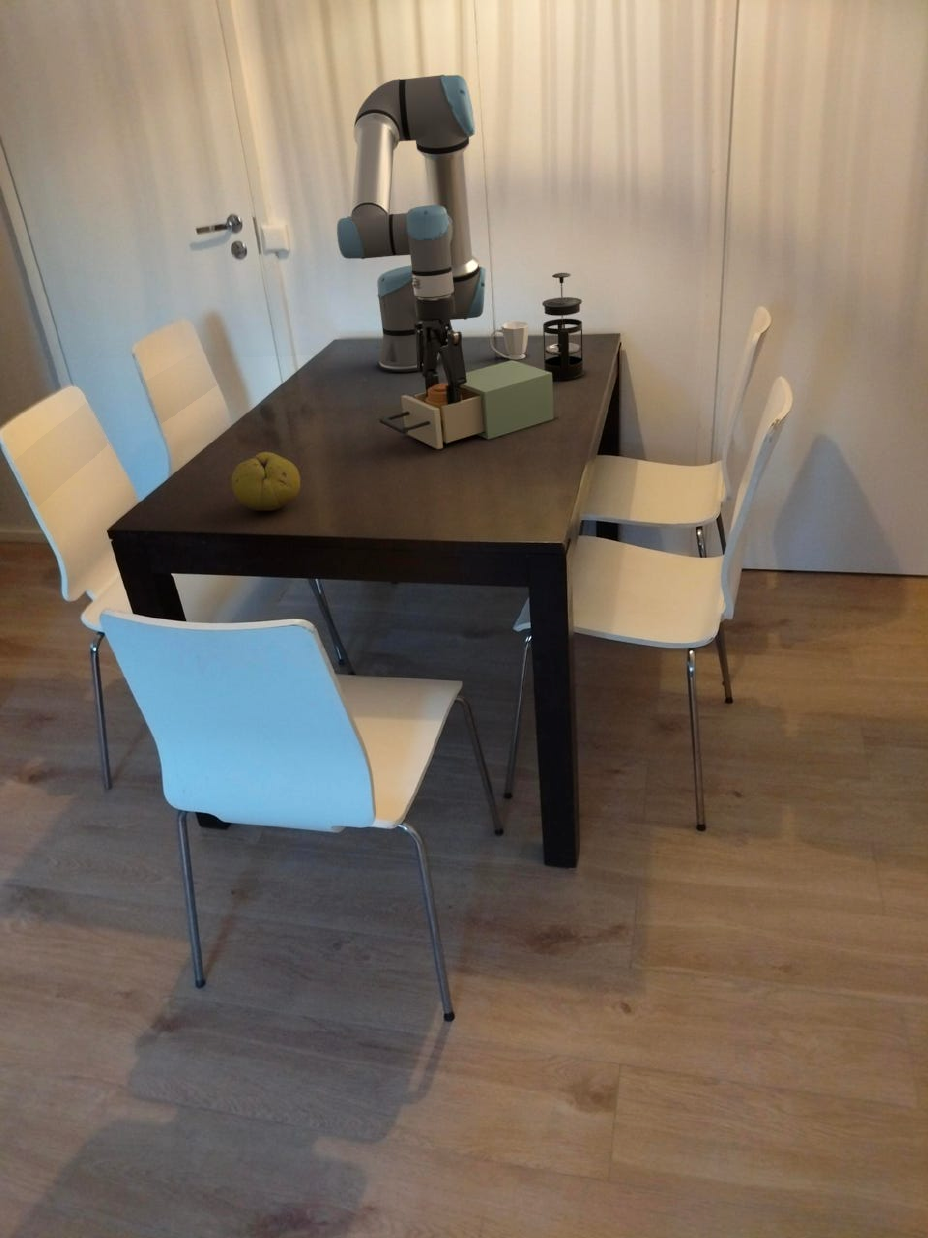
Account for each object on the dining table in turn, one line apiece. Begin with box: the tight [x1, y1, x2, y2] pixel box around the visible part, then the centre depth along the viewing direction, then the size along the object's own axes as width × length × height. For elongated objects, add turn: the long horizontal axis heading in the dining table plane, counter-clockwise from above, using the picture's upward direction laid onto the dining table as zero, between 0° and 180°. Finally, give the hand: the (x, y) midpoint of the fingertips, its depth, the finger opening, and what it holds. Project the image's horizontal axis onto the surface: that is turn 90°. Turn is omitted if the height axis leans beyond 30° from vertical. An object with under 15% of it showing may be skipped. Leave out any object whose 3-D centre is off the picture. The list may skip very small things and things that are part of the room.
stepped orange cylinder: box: [426, 382, 462, 420], centre depth 187 cm, size 7×7×6 cm
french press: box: [541, 272, 585, 382], centre depth 215 cm, size 12×9×23 cm
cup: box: [489, 321, 530, 361], centre depth 235 cm, size 7×10×8 cm
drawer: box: [378, 387, 485, 450], centre depth 187 cm, size 22×13×8 cm, turn 124°
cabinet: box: [446, 359, 554, 440], centre depth 194 cm, size 17×14×10 cm
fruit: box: [231, 451, 301, 512], centre depth 164 cm, size 11×12×10 cm
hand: (444, 412), depth 188 cm, fingers closed on stepped orange cylinder, 7 cm apart
